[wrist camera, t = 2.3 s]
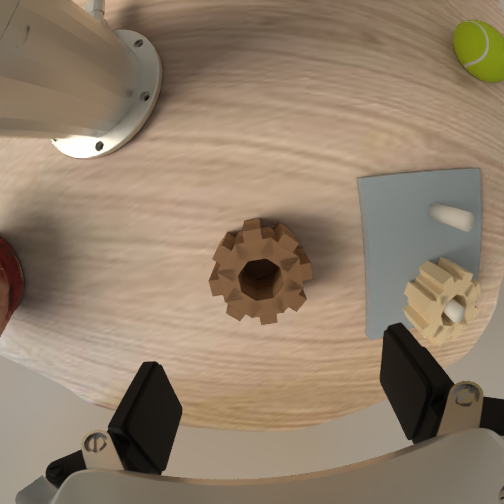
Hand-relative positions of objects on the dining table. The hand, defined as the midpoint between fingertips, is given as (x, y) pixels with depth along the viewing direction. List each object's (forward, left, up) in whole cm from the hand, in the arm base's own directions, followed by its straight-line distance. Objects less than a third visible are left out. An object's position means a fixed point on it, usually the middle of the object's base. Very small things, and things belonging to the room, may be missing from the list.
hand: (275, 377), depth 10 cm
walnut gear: (-1, 0, -13) cm, 13 cm away
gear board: (+1, +16, -13) cm, 21 cm away
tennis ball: (-19, +26, -13) cm, 34 cm away
